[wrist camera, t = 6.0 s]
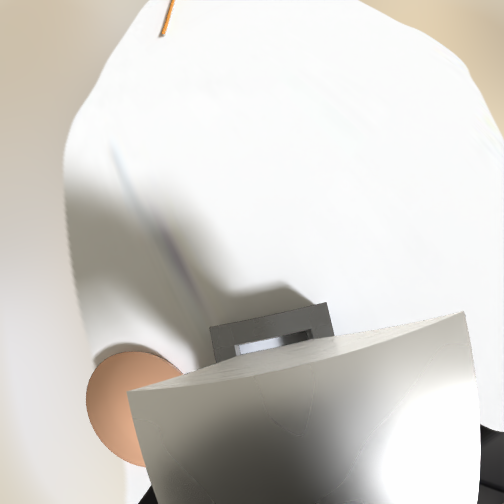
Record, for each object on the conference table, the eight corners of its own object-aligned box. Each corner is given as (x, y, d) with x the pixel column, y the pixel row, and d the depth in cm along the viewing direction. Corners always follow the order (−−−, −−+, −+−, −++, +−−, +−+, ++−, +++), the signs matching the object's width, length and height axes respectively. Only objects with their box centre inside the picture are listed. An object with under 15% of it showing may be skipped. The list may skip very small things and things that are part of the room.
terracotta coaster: (154, 483, 19) (150, 487, 18) (74, 403, 21) (68, 404, 20) (227, 410, 21) (225, 413, 20) (134, 326, 23) (129, 325, 22)
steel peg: (325, 405, 15) (469, 541, 2) (255, 420, 15) (212, 611, 2) (311, 339, 16) (464, 311, 3) (241, 354, 16) (126, 391, 3)
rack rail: (358, 520, 16) (367, 537, 13) (268, 540, 16) (268, 559, 13) (319, 307, 23) (326, 301, 20) (217, 329, 23) (209, 327, 20)
